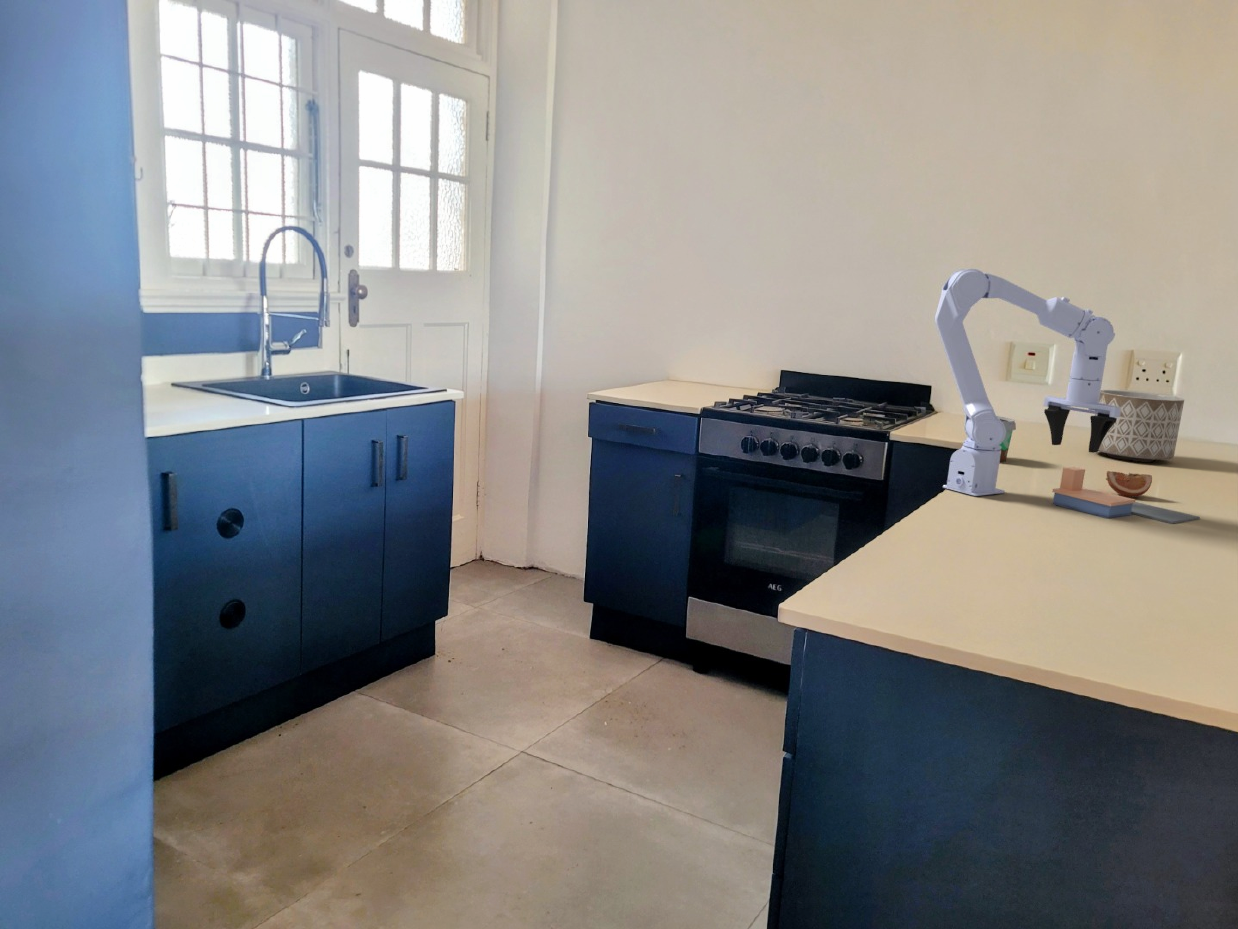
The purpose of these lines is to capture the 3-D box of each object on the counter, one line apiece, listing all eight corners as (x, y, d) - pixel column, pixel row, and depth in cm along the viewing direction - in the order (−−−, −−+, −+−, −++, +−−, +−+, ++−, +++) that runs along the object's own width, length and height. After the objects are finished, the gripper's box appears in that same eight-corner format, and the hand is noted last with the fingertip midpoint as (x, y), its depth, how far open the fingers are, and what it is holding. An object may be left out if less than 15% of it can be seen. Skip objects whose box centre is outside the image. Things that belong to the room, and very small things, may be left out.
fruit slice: (1105, 496, 192) (1109, 472, 191) (1100, 490, 198) (1104, 467, 197) (1151, 502, 190) (1155, 477, 189) (1144, 495, 196) (1148, 472, 195)
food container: (1015, 465, 221) (1022, 423, 219) (988, 462, 222) (994, 421, 220) (1005, 456, 233) (1011, 416, 231) (979, 454, 234) (985, 414, 232)
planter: (1091, 458, 238) (1102, 394, 235) (1086, 447, 256) (1095, 387, 253) (1178, 468, 231) (1190, 402, 228) (1166, 457, 249) (1177, 395, 246)
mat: (1172, 523, 171) (1172, 521, 171) (1103, 506, 181) (1103, 504, 181) (1199, 518, 176) (1199, 516, 176) (1131, 502, 187) (1131, 500, 187)
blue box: (1108, 518, 172) (1110, 505, 171) (1052, 504, 181) (1054, 492, 180) (1130, 514, 176) (1132, 502, 175) (1075, 501, 185) (1077, 489, 184)
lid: (1110, 511, 171) (1115, 481, 170) (1051, 496, 181) (1055, 468, 179) (1134, 507, 176) (1139, 478, 174) (1076, 493, 185) (1080, 466, 184)
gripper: (1134, 383, 178) (1121, 454, 180) (1062, 374, 189) (1051, 440, 192) (1114, 384, 174) (1101, 456, 176) (1041, 374, 185) (1031, 442, 188)
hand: (1074, 448), depth 184 cm, fingers open, 7 cm apart
